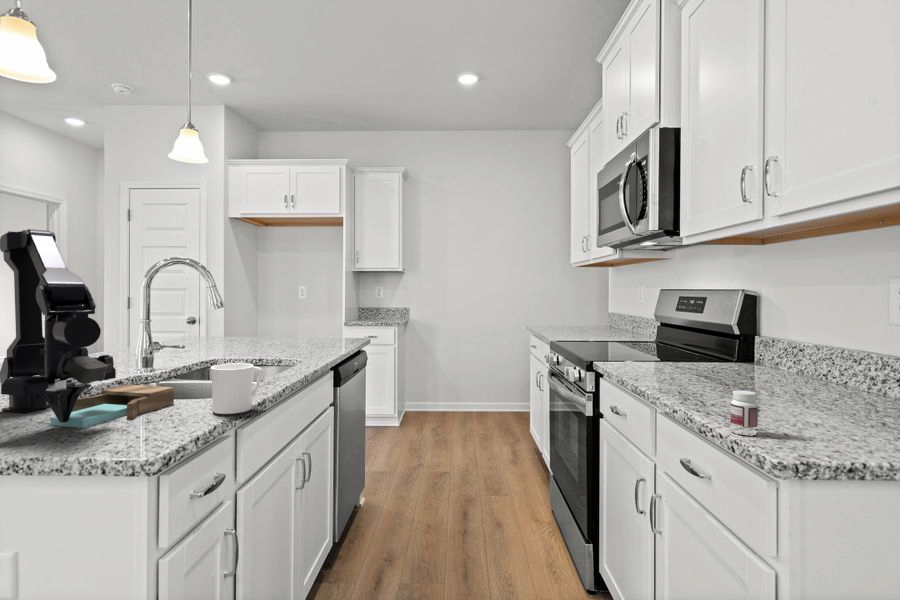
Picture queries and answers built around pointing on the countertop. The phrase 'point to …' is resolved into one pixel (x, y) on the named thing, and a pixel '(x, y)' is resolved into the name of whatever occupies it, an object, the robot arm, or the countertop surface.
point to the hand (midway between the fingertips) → (63, 422)
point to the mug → (233, 388)
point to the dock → (130, 398)
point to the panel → (92, 416)
